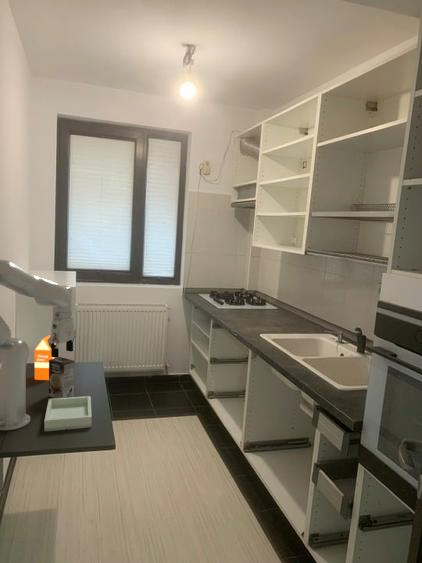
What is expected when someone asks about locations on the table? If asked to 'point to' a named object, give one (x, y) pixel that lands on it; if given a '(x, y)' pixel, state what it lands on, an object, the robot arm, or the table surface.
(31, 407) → the table surface
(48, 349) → the orange juice
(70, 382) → the coffee box
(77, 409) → the tray
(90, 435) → the table surface
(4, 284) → the robot arm
